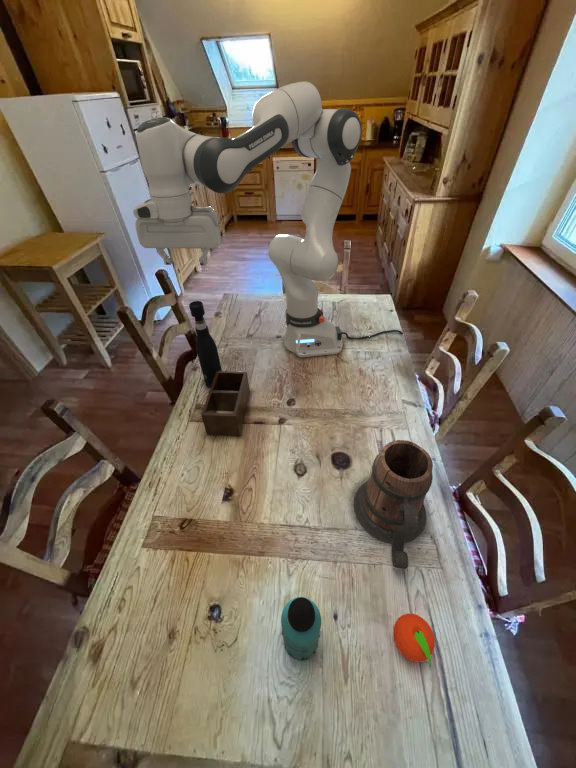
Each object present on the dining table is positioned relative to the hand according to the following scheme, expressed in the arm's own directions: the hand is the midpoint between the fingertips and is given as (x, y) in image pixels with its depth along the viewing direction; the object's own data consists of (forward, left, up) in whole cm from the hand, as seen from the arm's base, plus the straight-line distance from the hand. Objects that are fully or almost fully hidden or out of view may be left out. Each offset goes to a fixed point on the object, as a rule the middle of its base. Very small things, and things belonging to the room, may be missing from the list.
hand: (186, 264), depth 89 cm
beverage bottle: (-33, +70, -42) cm, 88 cm away
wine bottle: (0, 0, -42) cm, 42 cm away
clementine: (-53, +69, -42) cm, 97 cm away
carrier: (-8, +14, -42) cm, 45 cm away
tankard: (-53, +46, -42) cm, 82 cm away
